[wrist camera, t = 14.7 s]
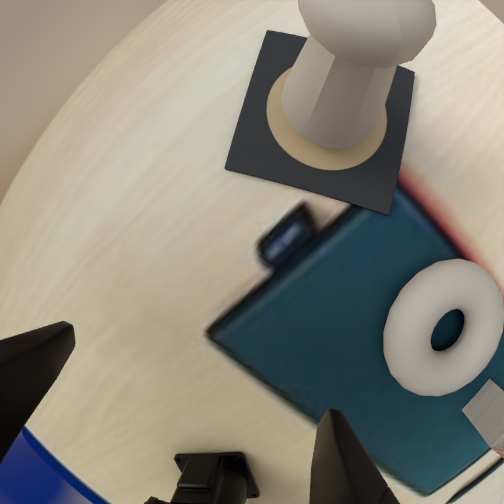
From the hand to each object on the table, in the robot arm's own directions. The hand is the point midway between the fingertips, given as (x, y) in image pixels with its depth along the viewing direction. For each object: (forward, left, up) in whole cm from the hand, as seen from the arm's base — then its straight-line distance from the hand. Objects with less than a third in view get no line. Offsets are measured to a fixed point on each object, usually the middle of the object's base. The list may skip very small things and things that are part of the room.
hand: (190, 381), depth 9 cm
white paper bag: (-17, -19, -12) cm, 28 cm away
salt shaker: (+10, -8, -11) cm, 17 cm away
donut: (-6, -13, -12) cm, 19 cm away
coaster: (+10, -8, -12) cm, 18 cm away
